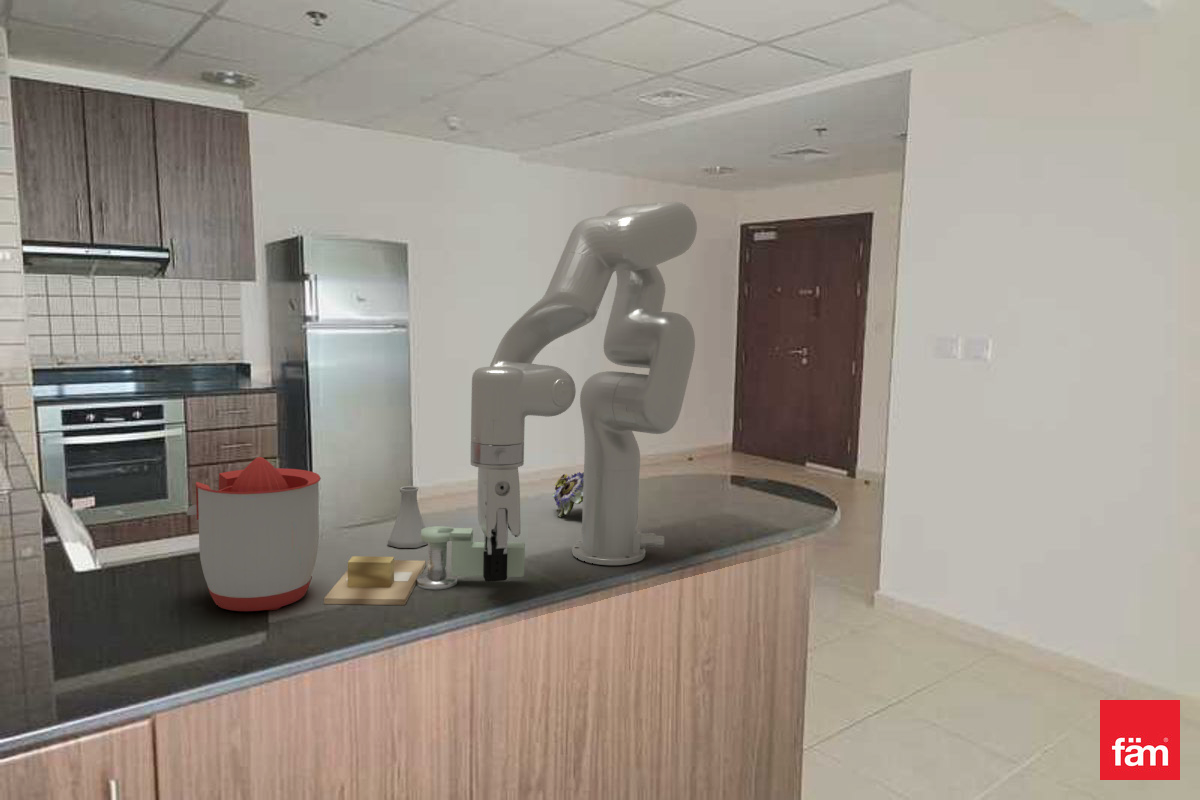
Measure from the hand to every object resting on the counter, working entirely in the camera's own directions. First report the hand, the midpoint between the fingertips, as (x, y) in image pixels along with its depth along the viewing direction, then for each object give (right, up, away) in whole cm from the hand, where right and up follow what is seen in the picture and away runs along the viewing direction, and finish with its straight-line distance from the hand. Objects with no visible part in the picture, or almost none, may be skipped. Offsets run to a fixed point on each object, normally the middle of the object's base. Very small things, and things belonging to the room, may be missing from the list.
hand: (495, 578), depth 109 cm
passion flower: (+11, +2, +47) cm, 48 cm away
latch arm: (-4, 0, +5) cm, 6 cm away
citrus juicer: (-33, -2, -4) cm, 33 cm away
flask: (-19, 0, +24) cm, 30 cm away
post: (-9, -2, +5) cm, 11 cm away
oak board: (-18, -2, +4) cm, 18 cm away
